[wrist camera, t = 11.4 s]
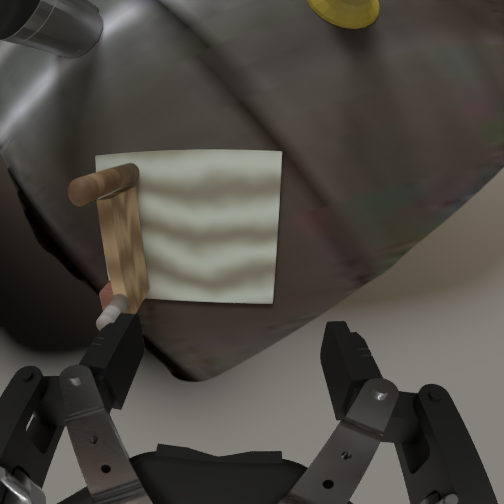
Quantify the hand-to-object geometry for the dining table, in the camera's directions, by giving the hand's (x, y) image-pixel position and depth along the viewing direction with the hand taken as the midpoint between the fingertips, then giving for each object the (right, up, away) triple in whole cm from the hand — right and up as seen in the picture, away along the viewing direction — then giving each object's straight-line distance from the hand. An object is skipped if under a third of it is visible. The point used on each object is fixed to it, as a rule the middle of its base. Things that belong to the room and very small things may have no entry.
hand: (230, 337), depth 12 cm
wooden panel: (-17, +5, +32) cm, 36 cm away
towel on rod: (-9, +7, +33) cm, 35 cm away
